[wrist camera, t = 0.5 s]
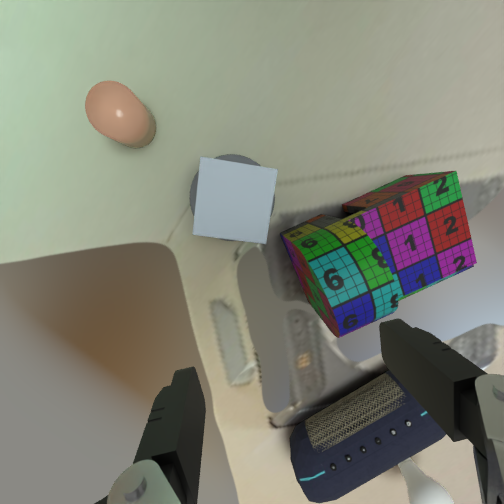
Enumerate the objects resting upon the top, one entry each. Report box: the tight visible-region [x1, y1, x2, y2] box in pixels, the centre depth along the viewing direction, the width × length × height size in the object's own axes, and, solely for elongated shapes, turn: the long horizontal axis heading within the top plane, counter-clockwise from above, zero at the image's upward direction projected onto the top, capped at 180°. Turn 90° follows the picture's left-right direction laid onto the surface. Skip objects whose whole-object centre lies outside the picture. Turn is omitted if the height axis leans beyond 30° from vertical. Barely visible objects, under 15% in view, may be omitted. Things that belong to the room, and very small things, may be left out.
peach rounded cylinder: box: [85, 81, 156, 148], centre depth 29 cm, size 5×5×6 cm
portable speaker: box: [290, 370, 446, 503], centre depth 39 cm, size 25×10×10 cm, turn 122°
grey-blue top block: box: [193, 156, 278, 244], centre depth 26 cm, size 7×7×5 cm
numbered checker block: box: [280, 171, 477, 338], centre depth 32 cm, size 25×17×14 cm
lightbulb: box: [397, 457, 454, 504], centre depth 42 cm, size 6×6×11 cm
